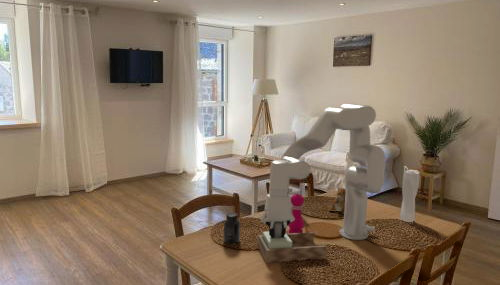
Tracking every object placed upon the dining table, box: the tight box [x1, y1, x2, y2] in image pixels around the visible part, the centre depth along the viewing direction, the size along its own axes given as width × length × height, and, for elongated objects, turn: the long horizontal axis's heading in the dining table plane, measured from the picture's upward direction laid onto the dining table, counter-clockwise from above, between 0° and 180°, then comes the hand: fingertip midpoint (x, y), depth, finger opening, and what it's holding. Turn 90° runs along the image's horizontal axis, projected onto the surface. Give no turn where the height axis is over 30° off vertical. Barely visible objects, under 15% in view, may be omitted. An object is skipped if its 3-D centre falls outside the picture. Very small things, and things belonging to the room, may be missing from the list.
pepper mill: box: [287, 190, 305, 234], centre depth 168 cm, size 7×7×20 cm
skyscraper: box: [398, 165, 420, 223], centre depth 186 cm, size 8×8×28 cm
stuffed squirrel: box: [328, 187, 346, 214], centre depth 200 cm, size 10×14×13 cm
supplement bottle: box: [223, 212, 241, 245], centre depth 159 cm, size 7×7×12 cm
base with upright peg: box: [262, 221, 292, 249], centre depth 148 cm, size 9×11×12 cm
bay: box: [257, 231, 327, 264], centre depth 150 cm, size 24×14×5 cm, turn 102°
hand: (277, 236), depth 148 cm, fingers closed on base with upright peg, 3 cm apart
